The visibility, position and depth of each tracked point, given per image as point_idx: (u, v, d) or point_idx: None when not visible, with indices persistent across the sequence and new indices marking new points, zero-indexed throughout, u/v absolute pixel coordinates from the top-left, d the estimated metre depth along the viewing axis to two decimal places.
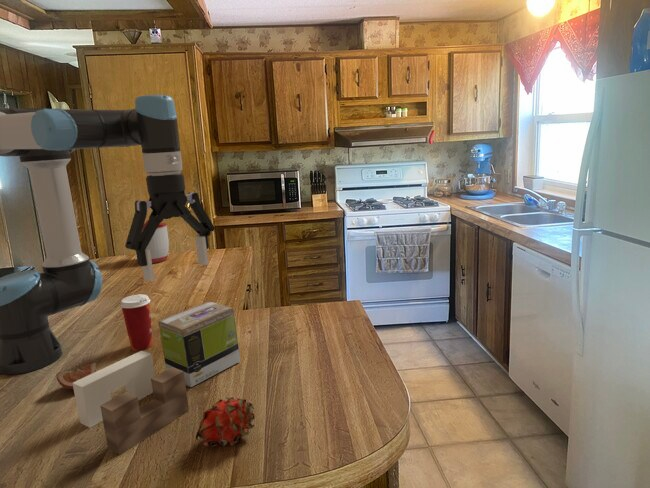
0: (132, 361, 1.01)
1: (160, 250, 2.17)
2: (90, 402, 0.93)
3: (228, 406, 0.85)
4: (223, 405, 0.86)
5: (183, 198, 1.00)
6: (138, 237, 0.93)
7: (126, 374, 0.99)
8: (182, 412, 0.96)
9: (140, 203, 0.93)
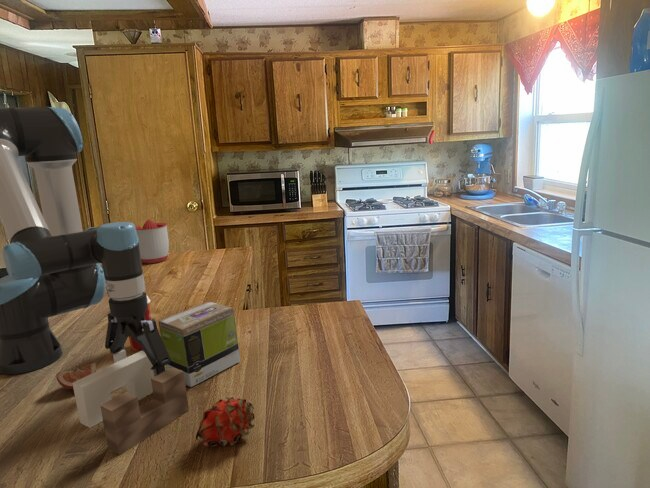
0: (132, 361, 1.01)
1: (160, 250, 2.17)
2: (90, 402, 0.93)
3: (228, 406, 0.85)
4: (223, 405, 0.86)
5: (135, 323, 0.99)
6: (108, 340, 1.06)
7: (126, 374, 0.99)
8: (182, 412, 0.96)
9: None
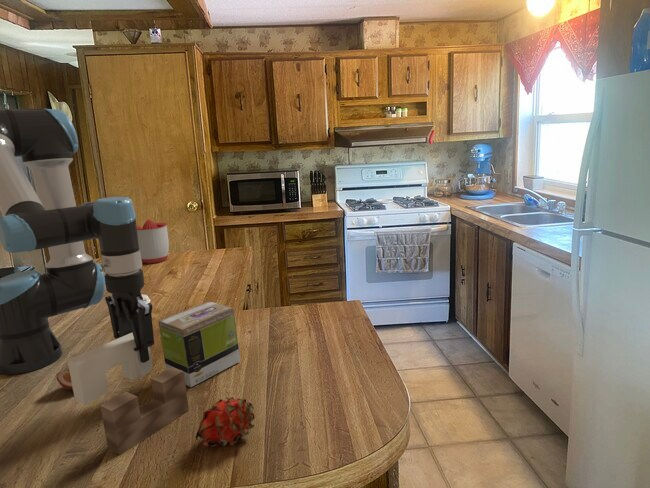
0: (128, 340, 1.00)
1: (160, 250, 2.17)
2: (85, 380, 0.92)
3: (228, 406, 0.85)
4: (223, 405, 0.86)
5: (131, 300, 0.98)
6: (114, 328, 1.04)
7: (122, 353, 0.99)
8: (182, 412, 0.96)
9: None
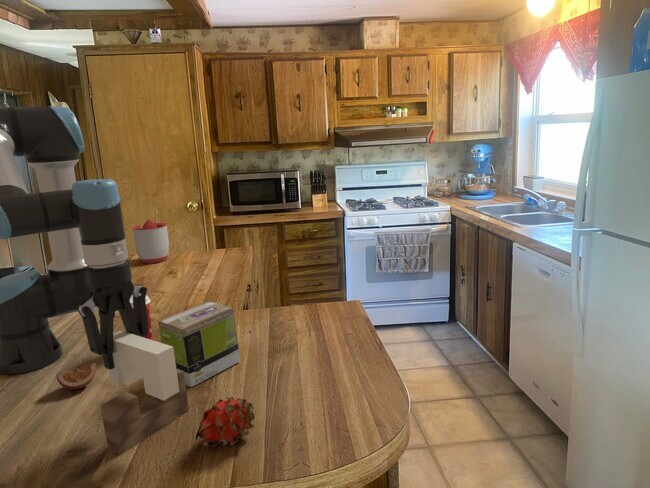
0: (131, 335, 0.91)
1: (160, 250, 2.17)
2: None
3: (228, 406, 0.85)
4: (223, 405, 0.86)
5: (130, 287, 0.91)
6: (99, 341, 0.86)
7: None
8: (182, 412, 0.96)
9: (83, 311, 0.84)
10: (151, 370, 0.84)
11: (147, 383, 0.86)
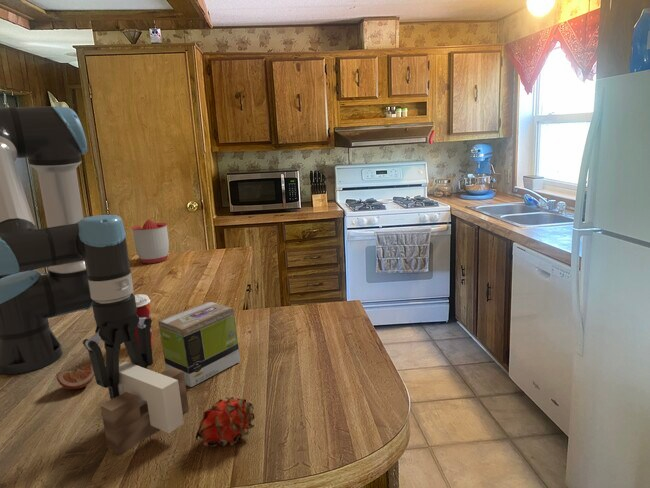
0: (136, 367, 0.92)
1: (160, 250, 2.17)
2: None
3: (228, 406, 0.85)
4: (223, 405, 0.86)
5: (135, 319, 0.92)
6: (105, 374, 0.88)
7: None
8: None
9: (89, 346, 0.85)
10: (156, 403, 0.86)
11: (152, 416, 0.87)
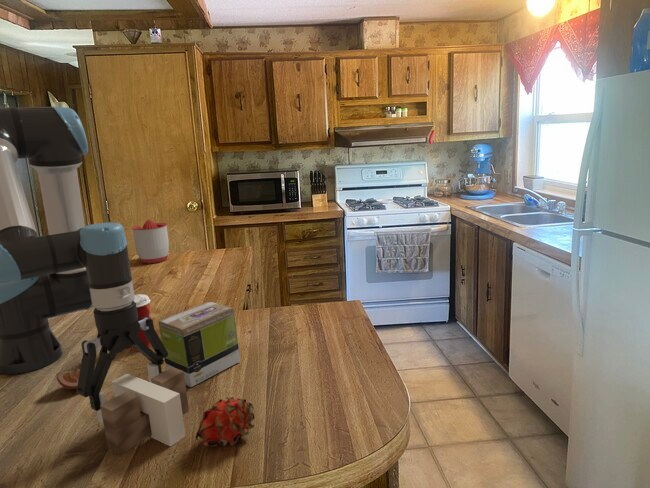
0: (138, 380, 0.93)
1: (160, 250, 2.17)
2: None
3: (228, 406, 0.85)
4: (223, 405, 0.86)
5: (136, 327, 0.93)
6: (90, 382, 0.85)
7: None
8: (182, 412, 0.96)
9: (88, 346, 0.85)
10: (158, 417, 0.86)
11: (154, 429, 0.88)
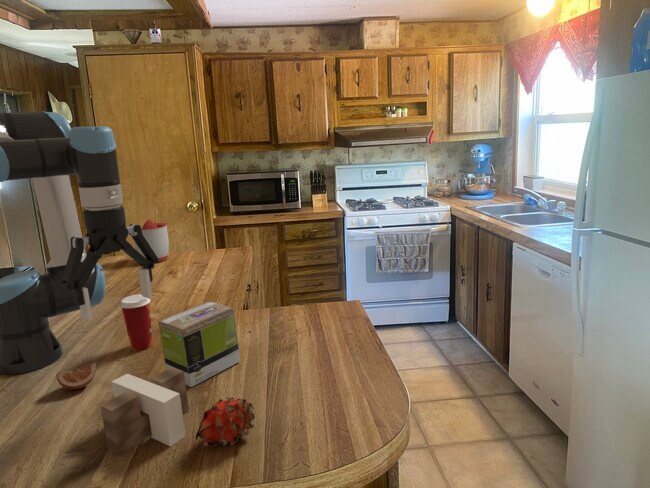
0: (138, 380, 0.93)
1: (160, 250, 2.17)
2: None
3: (228, 406, 0.85)
4: (223, 405, 0.86)
5: (124, 231, 0.96)
6: (74, 276, 0.88)
7: None
8: (182, 412, 0.96)
9: (76, 240, 0.88)
10: (158, 417, 0.86)
11: (154, 429, 0.88)
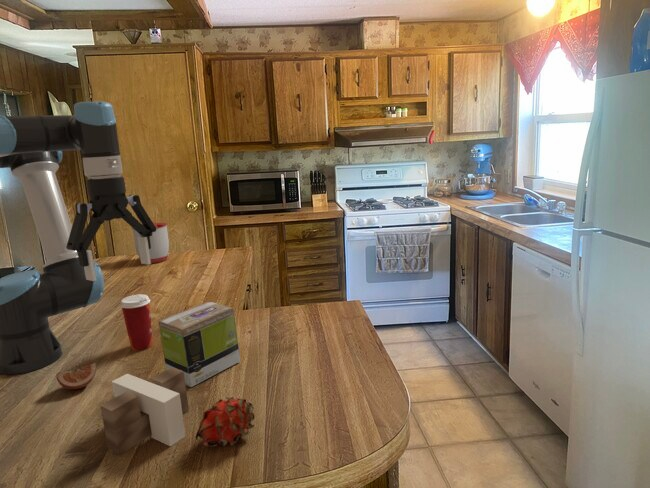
0: (138, 380, 0.93)
1: (160, 250, 2.17)
2: None
3: (228, 406, 0.85)
4: (223, 405, 0.86)
5: (124, 200, 1.04)
6: (79, 238, 0.96)
7: None
8: (182, 412, 0.96)
9: (80, 205, 0.96)
10: (158, 417, 0.86)
11: (154, 429, 0.88)
